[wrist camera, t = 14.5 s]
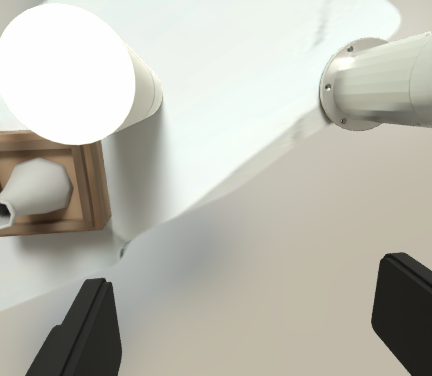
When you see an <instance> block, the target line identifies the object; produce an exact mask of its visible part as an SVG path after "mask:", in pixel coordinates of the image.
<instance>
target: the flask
mask: <svg viewBox="0 0 432 376" xmlns="http://www.w3.org/2000/svg"><path fill="white" fill-rule="evenodd" d="M72 189H73V185H72V183H71V181H70V178H69V176H68V174H67V172H66V170H65V167H64V165H61V164H58V163H55V162H52V161H49V160H46V159H43V158H35V159H32V160H29V161H25V162H22V163H19V164H16V165H15V167H14V170H13V172H12V174H11V176H10V179H9V180H8V182H7V184H6V186H5V188H4V190H3V191H2V192H1V193H0V230H2V229H5V228H8V227H11V226H13V225H14V221H15V220H16V219H17V218H19V217H20V216H23V215H31V214H45V213H49V212H52V211H55V210H59V209H62V208H65V207H68V204H69V200H70V196H71V193H72Z"/></svg>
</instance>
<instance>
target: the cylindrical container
mask: <svg viewBox="0 0 432 376" xmlns="http://www.w3.org/2000/svg"><path fill="white" fill-rule="evenodd" d="M0 91H1V94H2V96H3V98H4V100H5V102H6V103H7V105H8V107H9V109H10V110H11V111H12V112H13V114H14V115H15V116H16V117H17V118H18V120H19V121H20V122H22V123H23V124H24V125H25V126H26V127H27V128H29V129H30V130H31V131H33V132H35V133H36V134H38V135H39V136H41V137H44V138H46V139H48V140H51V141H53V142H58V143H62V144H69V145H82V144H88V143H93V142H96V141H98V140H101V139H104V138H106V137H108V136H110V135H112V134H114V133H116V132H118V131H120V130H122V129H124V128H127V127H129V126H131V125H133V124H135V123H137V122H139V121H141V120H143V119H146V118H148V117H150V116H151V115H153V114H154V113H155V112H156V111H157V110H158V108H159V107H160V105H161V102H162V98H163V90H162V85H161V82H160V80H159V78H158V77H157V75H156V74H155V73H154V72H153V71H152V70H151V69H150V68H149V67H148V66H147V65H146V64H145V63H144V62H143V61H142V60H141V59H140V58H139V57H138V55H137V54H136V53H135V52H134V51H133V50H132V49H131V48H130V47H129V46H128V45H127V44H126V43H125V42H124V41H123V40H122V39H121V38H120V37H119V36H118V35H117V34H116V33H115V32H114V31H113V30H112V29H111V28H110V27H109V25H107V24H106V23H105V22H104V21H102V20H101V19H100V18H98V17H97V16H95V15H93V14H92V13H90V12H88V11H86V10H84V9H81V8H78V7H74V6H71V5H64V4H47V5H39V6H37V7H34V8H31V9H29V10H26V11H25V12H23V13H22V14H20V15H19V16H17V17H16V18H15V19H14V20H13V21H12V22H11V23H10V24H9V25H8V27H7V28H6V29H5V31H4V33H3V35H2V36H1V38H0Z"/></svg>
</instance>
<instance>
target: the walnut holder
mask: <svg viewBox="0 0 432 376" xmlns="http://www.w3.org/2000/svg"><path fill="white" fill-rule="evenodd" d="M35 158H43V159H46V160H49V161H52V162H55V163H58V164H61V165H64V167H65V170H66V172H67V174H68V176H69V178H70V181H71V183H72V185H73V189H72V193H71V196H70V200H69V204H68V207H65V208H62V209H59V210H55V211H52V212H49V213H45V214H31V215H23V216H20V217H19V218H17V219H16V220H15V221H14V225H13V226H11V227H8V228H5V229H2V230H0V237H4V236H19V235H33V234H47V233H62V232H76V231H90V230H103V228H104V226H105V225H106V223H107V222H108V220H109V218H110V217H111V211H110V204H109V197H108V190H107V183H106V176H105V168H104V161H103V154H102V147H101V140H98V141H96V142H93V143H88V144H82V145H69V144H62V143H58V142H53V141H51V140H48V139H46V138H44V137H41V136H39V135H38V134H36V133H35V132H33V131H31V130H23V131H0V193H1V192H2V191H3V190H4V188H5V186H6V184H7V182H8V180H9V179H10V176H11V174H12V172H13V170H14V167H15V165H16V164H19V163H22V162H25V161H29V160H32V159H35Z"/></svg>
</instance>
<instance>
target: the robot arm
mask: <svg viewBox="0 0 432 376" xmlns="http://www.w3.org/2000/svg"><path fill="white" fill-rule="evenodd" d="M347 49H348V51H347ZM325 86H327V88H326V89H325ZM320 99H321V103H322V107H323V109H324V111H325V113H326V115H327V116H328V117H329V119H330V120H331V121H332V122H333V123H335V124H336V125H338V126H340V127H341V128H344V129H347V130H353V131H364V130H368V129H372V128H374V127H377V126H379V125H380V124H382V123H389V124H399V125H409V126H418V127H427V128H432V31H430V32H426V33H423V34H419V35H415V36H412V37H408V38H405V39H401V40H398V41H394V42H390V43H389V42H387V41H386V40H383V39H380V38H374V37H367V38H361V39H358V40H354V41H352V42H350V43H348V44H346V45H344V46H343V47H342V48H340V49H339V50H338V51H337V52H336V53H335V54H334V55H333V56H332V57H331V59H330V60H329V62H328V63H327V65H326V67H325V69H324V71H323V75H322V78H321V83H320ZM341 119H342V122H341ZM371 323H372V327H373V329H374V331H375V332H376V334H377V335H378V336H379V337H380V338H381V340H382V341H383V342H384V343H385V345H386V346H387V347H388V348H389V349H390V351H391V352H392V353H393V354H394V355H395V356H396V358H397V359H398V360H399V361H400V362H401V363H402V365H403V366H404V367H405V368H406V369H407V371H408V372H409V373H410V374H411V376H432V271H431V270H430V269H428V268H427V267H425V266H424V265H422V264H421V263H419V262H418V261H416V260H415V259H413V258H412V257H410V256H409V255H408V254H406V253H402V252H401V253H389V254H386V255H385V256H384V258H383V259H381V260H380V265H379V271H378V279H377V285H376V292H375V298H374V305H373V312H372V319H371ZM121 356H122V347H121V340H120V333H119V326H118V320H117V314H116V306H115V300H114V294H113V286H112V283H111V282H106V280H105V278H97V279H87V280H85V282H84V283H83V285H82V287H81V289H80V291H79V293H78V295H77V296H76V298H75V300H74V302H73V304H72V306H71V308H70V309H69V311H68V313H67V315H66V317H65V319H64V321H63V322H62V324H61V325H56V326H55V327H54V328H53V329H52V330H51V331H50V333H49V335H48V337H47V338H46V340H45V342H44V344H43V345H42V347H41V349H40V351H39V352H38V354H37V356H36V357H35V359H34V361H33V363H32V364H31V366H30V368H29V370H28V371H27V373H26V375H25V376H118V371H119V367H120V363H121Z"/></svg>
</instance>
